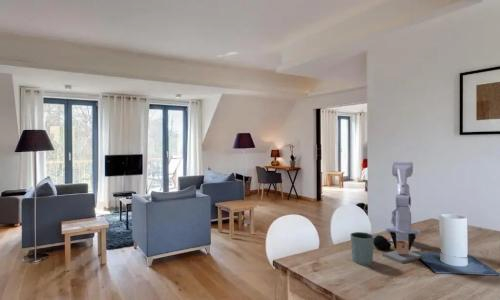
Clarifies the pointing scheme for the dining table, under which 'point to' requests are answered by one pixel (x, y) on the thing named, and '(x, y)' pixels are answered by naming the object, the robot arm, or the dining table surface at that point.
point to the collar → (402, 246)
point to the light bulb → (382, 243)
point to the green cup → (362, 248)
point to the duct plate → (401, 256)
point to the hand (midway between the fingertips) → (402, 248)
